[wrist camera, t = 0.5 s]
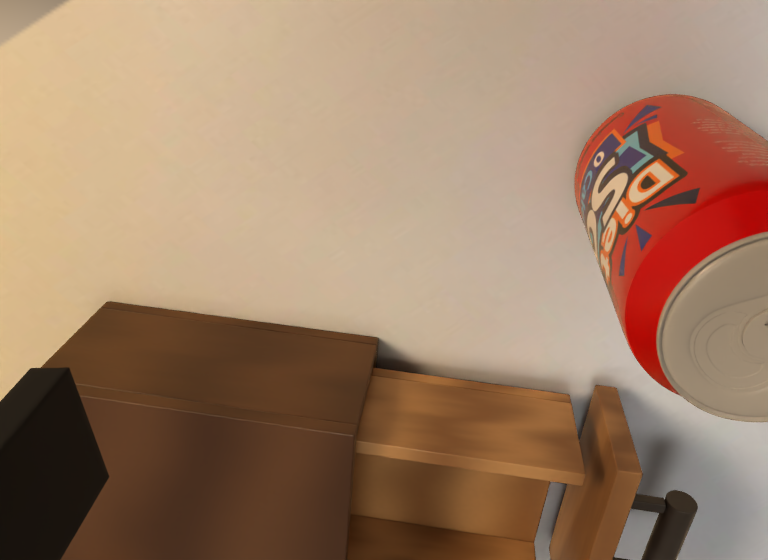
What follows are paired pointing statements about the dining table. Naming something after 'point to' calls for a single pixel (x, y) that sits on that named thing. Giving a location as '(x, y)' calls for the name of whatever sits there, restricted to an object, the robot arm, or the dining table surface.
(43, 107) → the dining table surface
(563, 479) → the drawer
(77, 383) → the cabinet
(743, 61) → the dining table surface
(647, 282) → the soda can
